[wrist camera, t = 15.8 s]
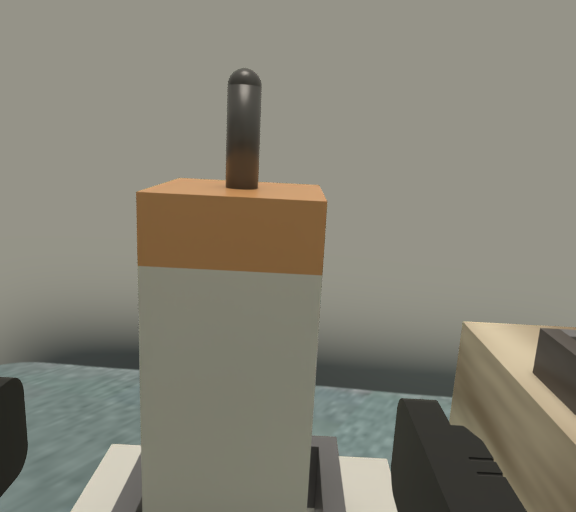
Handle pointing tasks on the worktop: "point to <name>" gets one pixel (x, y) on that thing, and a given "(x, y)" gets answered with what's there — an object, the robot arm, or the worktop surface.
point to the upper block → (522, 406)
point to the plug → (229, 330)
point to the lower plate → (321, 489)
